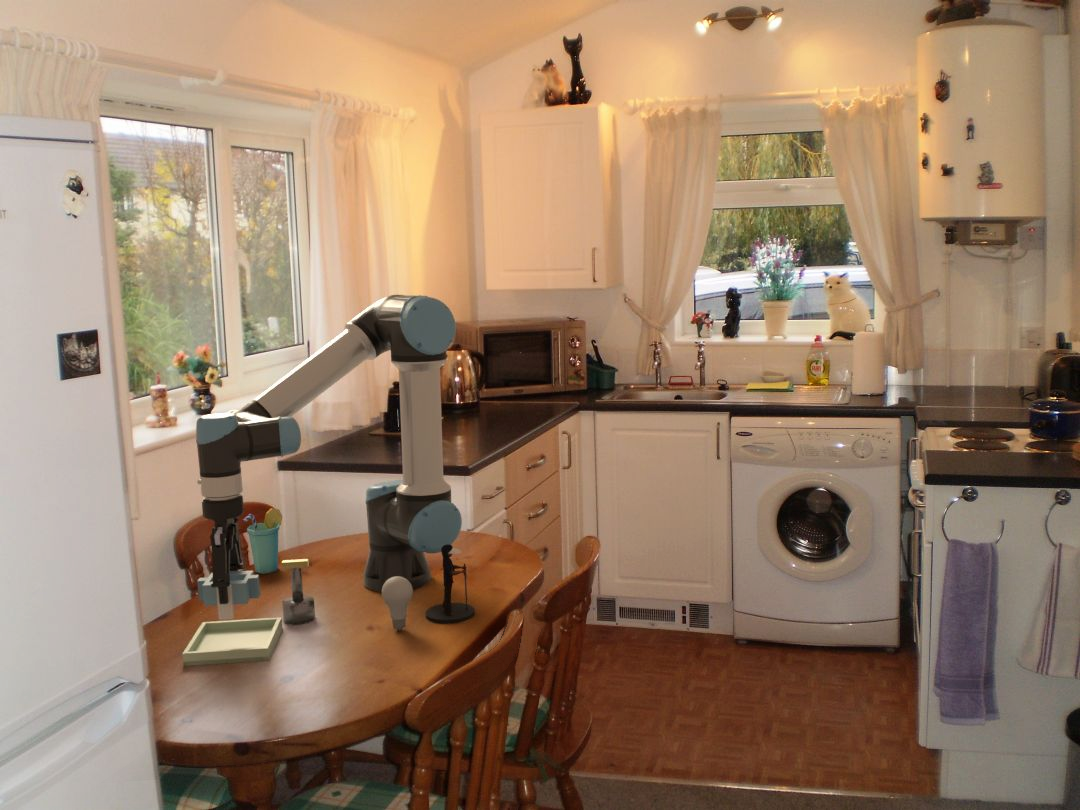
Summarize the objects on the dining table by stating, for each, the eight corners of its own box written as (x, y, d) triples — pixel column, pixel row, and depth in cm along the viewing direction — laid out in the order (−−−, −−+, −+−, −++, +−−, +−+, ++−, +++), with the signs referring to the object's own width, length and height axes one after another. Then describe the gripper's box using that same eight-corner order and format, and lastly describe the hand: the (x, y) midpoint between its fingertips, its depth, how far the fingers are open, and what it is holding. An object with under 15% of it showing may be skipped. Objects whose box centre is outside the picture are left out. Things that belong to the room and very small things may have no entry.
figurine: (477, 621, 222) (474, 549, 219) (427, 626, 220) (423, 553, 217) (471, 604, 231) (468, 535, 229) (423, 609, 230) (419, 540, 227)
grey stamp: (317, 612, 230) (313, 555, 228) (313, 623, 223) (308, 564, 221) (286, 614, 229) (281, 557, 227) (281, 625, 223) (276, 566, 221)
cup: (262, 581, 252) (257, 518, 250) (233, 579, 255) (228, 516, 252) (294, 563, 265) (289, 502, 263) (266, 561, 268) (261, 501, 265)
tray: (282, 628, 221) (281, 617, 221) (268, 660, 205) (267, 648, 205) (203, 633, 220) (202, 622, 220) (183, 665, 204) (182, 653, 204)
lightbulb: (420, 626, 220) (417, 573, 218) (406, 637, 214) (403, 582, 212) (392, 623, 222) (389, 571, 220) (378, 634, 216) (375, 580, 214)
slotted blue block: (195, 606, 207) (193, 586, 206) (204, 592, 214) (203, 573, 214) (255, 603, 207) (254, 582, 207) (263, 589, 215) (261, 570, 215)
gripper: (213, 484, 218) (222, 594, 221) (188, 510, 197) (198, 631, 201) (252, 482, 218) (260, 592, 222) (231, 508, 198) (240, 629, 201)
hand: (231, 610), depth 211 cm, fingers closed on slotted blue block, 8 cm apart
